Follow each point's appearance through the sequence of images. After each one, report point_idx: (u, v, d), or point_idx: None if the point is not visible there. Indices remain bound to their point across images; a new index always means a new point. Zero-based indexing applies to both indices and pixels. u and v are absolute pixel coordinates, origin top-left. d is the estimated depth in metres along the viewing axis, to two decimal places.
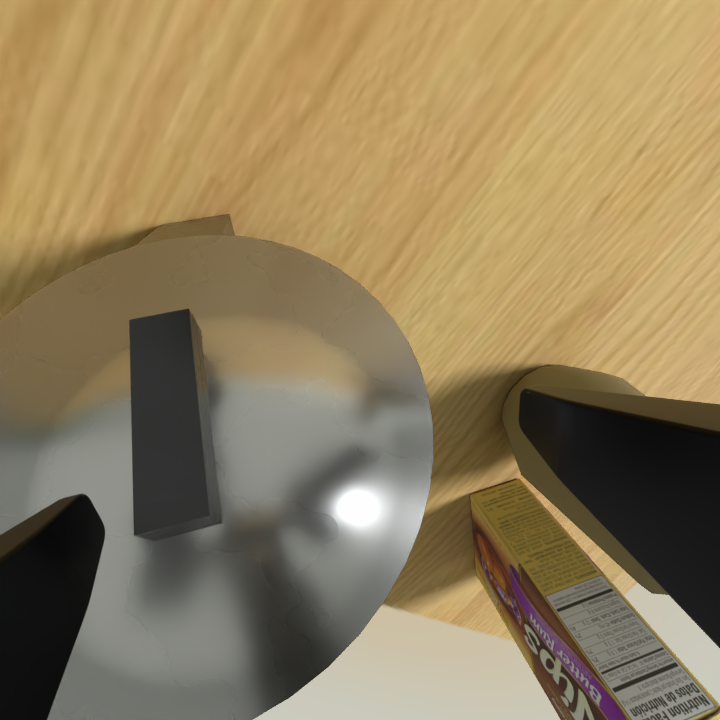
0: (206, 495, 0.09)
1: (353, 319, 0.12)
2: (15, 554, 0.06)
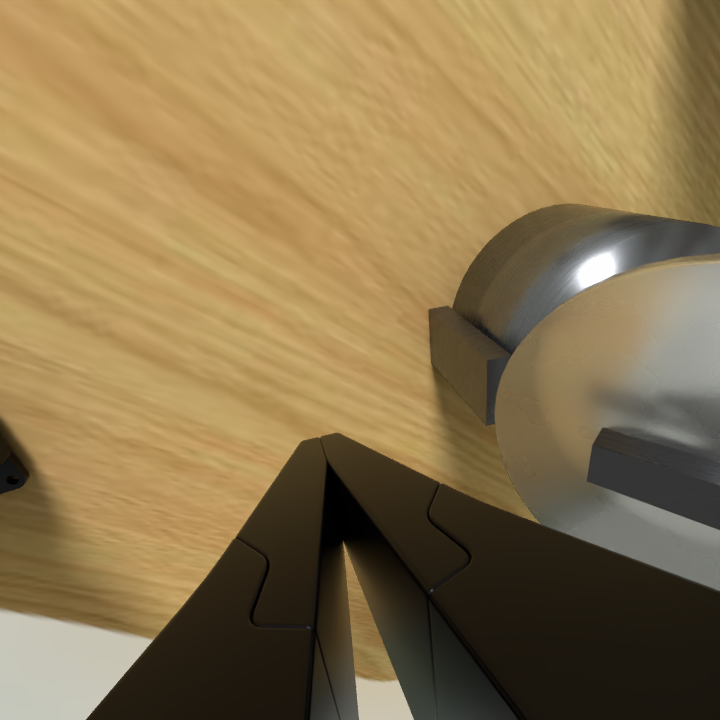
0: None
1: (650, 308, 0.11)
2: (328, 475, 0.07)
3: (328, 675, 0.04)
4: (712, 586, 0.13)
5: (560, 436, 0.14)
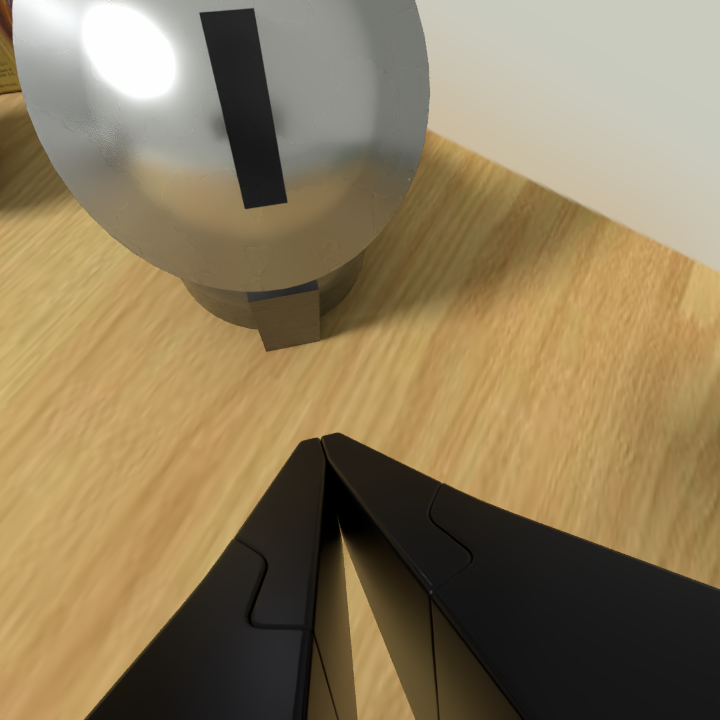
0: (204, 31, 0.11)
1: (112, 199, 0.14)
2: (327, 475, 0.07)
3: (326, 676, 0.04)
4: (363, 60, 0.13)
5: (274, 230, 0.16)
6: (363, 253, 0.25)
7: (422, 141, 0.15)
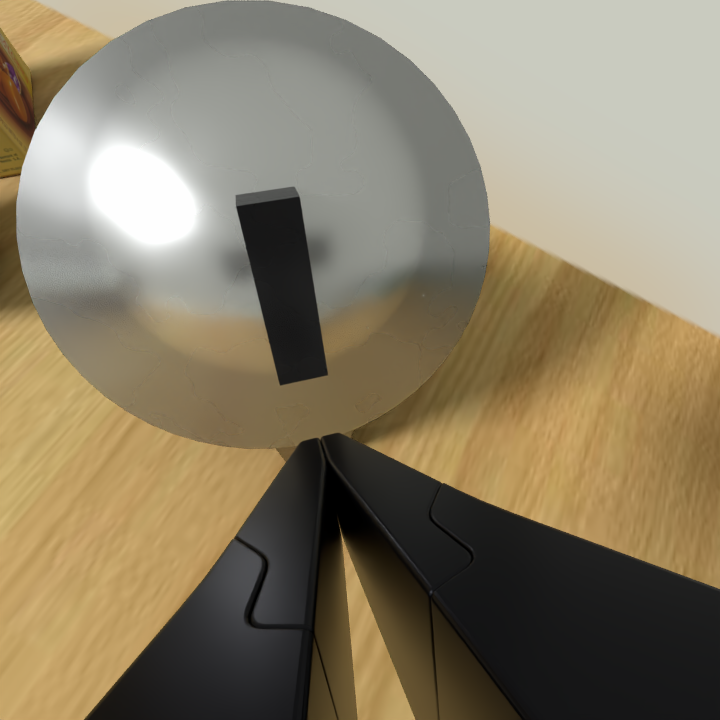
0: (240, 224, 0.10)
1: (129, 377, 0.12)
2: (327, 475, 0.07)
3: (326, 676, 0.04)
4: (417, 223, 0.12)
5: (309, 390, 0.14)
6: None
7: (477, 294, 0.13)
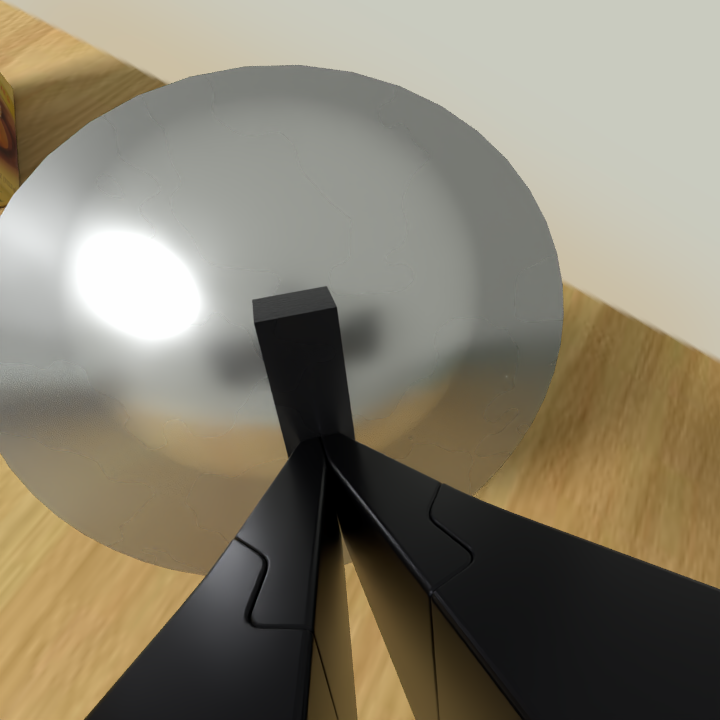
0: (259, 343, 0.07)
1: (115, 512, 0.10)
2: (327, 475, 0.07)
3: (326, 676, 0.04)
4: (477, 320, 0.09)
5: None
6: None
7: (543, 393, 0.11)
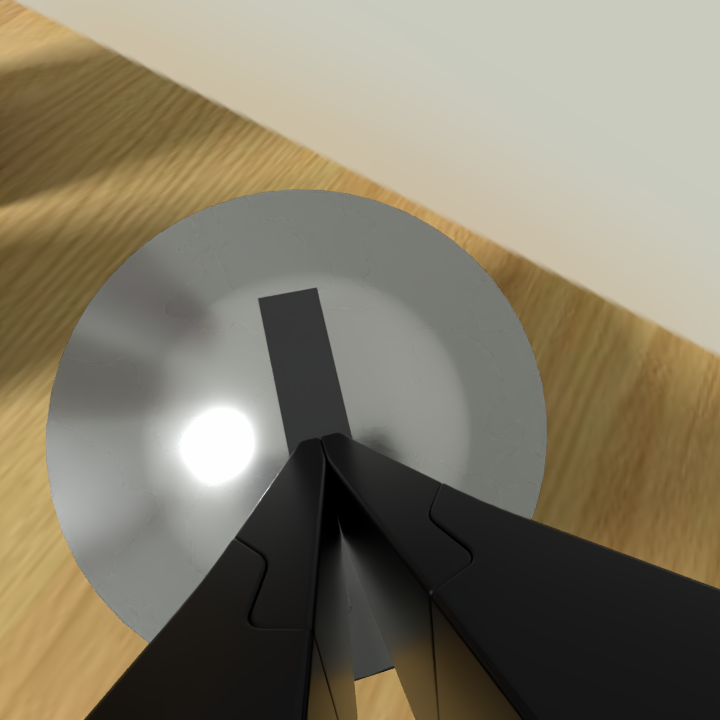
0: (261, 313, 0.10)
1: (115, 532, 0.09)
2: (327, 475, 0.07)
3: (326, 676, 0.04)
4: (444, 330, 0.11)
5: (350, 558, 0.10)
6: None
7: (543, 406, 0.11)
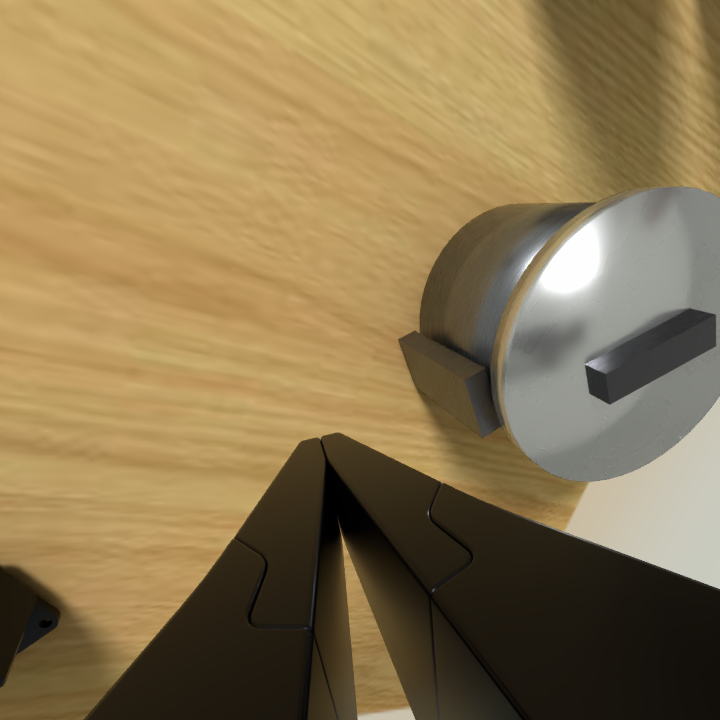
0: (708, 319, 0.16)
1: (585, 258, 0.15)
2: (327, 475, 0.07)
3: (326, 676, 0.04)
4: (666, 414, 0.19)
5: (562, 395, 0.17)
6: None
7: (623, 473, 0.19)
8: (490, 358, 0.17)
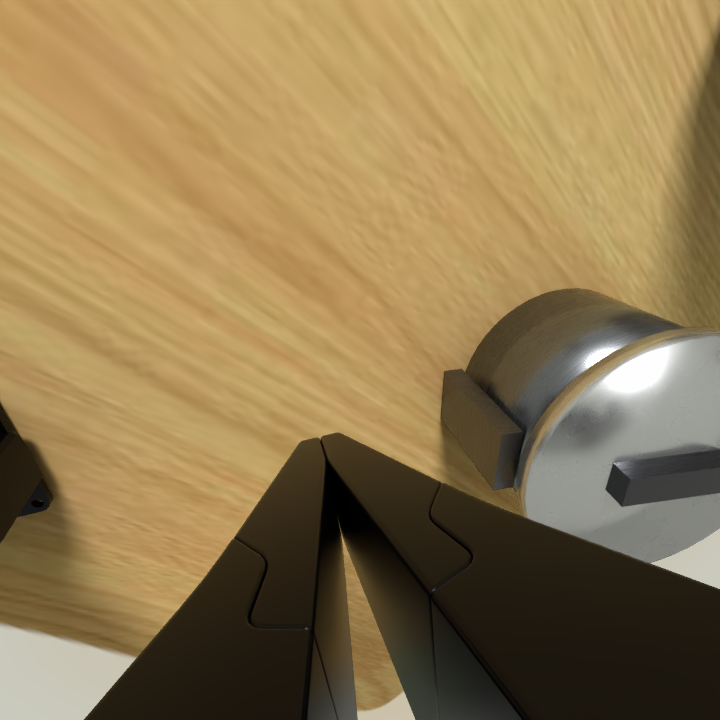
0: None
1: (655, 373, 0.16)
2: (327, 475, 0.07)
3: (326, 676, 0.04)
4: (661, 532, 0.20)
5: (582, 482, 0.18)
6: None
7: None
8: (530, 424, 0.18)
